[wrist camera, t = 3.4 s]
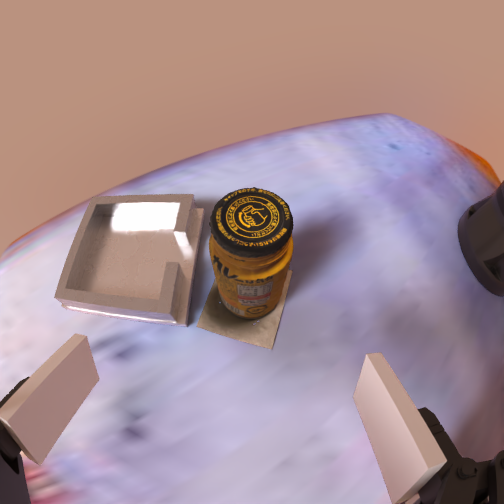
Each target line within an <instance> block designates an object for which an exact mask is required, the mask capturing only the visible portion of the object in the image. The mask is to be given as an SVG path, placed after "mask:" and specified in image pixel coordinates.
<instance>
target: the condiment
mask: <svg viewBox="0 0 504 504" xmlns="http://www.w3.org/2000/svg"><path fill="white" fill-rule="evenodd" d="M209 225H210V227H211V237H210V240H209V252H210V256H211V261H212V265H213V269H214V273H215V277H216V278H215V280H214V283H213V286H212V288H211V291H210V293H209V295H208V298H207V301H206V303H205V306H204V308H203V311H202V314H201V316H200V318H199V321H198V324H197V327H199V328H202V329H205V330H207V331H211V332H214V333H217V334H220V335H223V336H226V337H229V338H233V339H236V340H239V341H243V342H246V343H250V344H253V345H257V346H261V347H265V348H268V349H272V346H273V343H274V339H275V335H276V332H277V328H278V324H279V321H280V317H281V314H282V310H283V306H284V302H285V298H286V294H287V291H288V287H289V283H290V279H291V275H292V271H293V270H288V269H289V265H290V262H291V259H292V253H293V239H292V230H293V217H292V214H291V212H290V208H289V206H288V204H287V203H286V202H285V201H284V200H283V199H282V198H280V197H279V196H278V195H276V194H274V193H272V192H270V191H267V190H263V189H258V188H255V187H253V188H244V189H240V190H237V191H234V192H231V193H228V194H227V195H226V196H224V197H223V198H222V199H221V200H220V201H218V202H217V204H216V205H215V207H214V210H213V212H212V215H211V217H210V223H209ZM219 302H221V303H219ZM258 320H259V322H257V321H258ZM254 323H256V324H255V325H253V324H254Z"/></svg>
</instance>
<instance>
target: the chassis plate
mask: <svg viewBox="0 0 504 504" xmlns="http://www.w3.org/2000/svg"><path fill="white" fill-rule="evenodd" d="M204 215H205V213H204V208H196V203H195V199H194V195H193V194H165V195H126V196H103V197H92V199H91V201H90V203H89V205H88V208H87V210H86V212H85V214H84V217H83V219H82V221H81V223H80V226H79V228H78V231H77V233H76V235H75V238H74V241H73V243H72V246H71V248H70V251H69V254H68V256H67V259H66V262H65V265H64V268H63V271H62V274H61V277H60V280H59V283H58V287H57V290H56V293H55V297H54V298H56V299H57V300H58V301H60V302H61V303H62V307H63V308H65V309H66V310H71V311H77V312H82V313H87V314H93V315H99V316H105V317H111V318H117V319H124V320H131V321H138V322H146V323H154V324H162V325H171V326H181V327H187V325H188V317H189V310H190V302H191V295H192V288H193V281H194V275H195V268H196V262H197V256H198V249H199V244H200V238H201V232H202V226H203V221H204Z"/></svg>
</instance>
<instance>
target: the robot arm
mask: <svg viewBox="0 0 504 504" xmlns="http://www.w3.org/2000/svg"><path fill="white" fill-rule="evenodd" d="M458 237H459V242H460V246H461V249H462V252H463V254H464V257H465V259H466V261H467V263H468V265H469V267H470V269H471V270H472V272H473V273H474V275H475V276H476V278H477V279H478V280H479V281H480V283H481V284H482V285H483V286H484V287H485V288H486V289H487V290H489V291H490V292H492V293H493V294H495V295H498V296H504V181H503V182H502V184H501V185H500V186H499V188H498V189H497V190H496V191H495V192H494V193H493V194H491V195H490V196H488V197H486V198H485V199H483V200H481V201H479V202H478V203H476V204H474V205H472V206H471V207H470V208H468V209H467V211H466V212H465V213H464V214H463V216H462V217H461V218H460V221H459V224H458ZM98 381H99V376H98V373H97V370H96V367H95V363H94V360H93V357H92V353H91V350H90V346H89V343H88V339H87V336H84V335H80V334H74V335H73V336H72V337H71V338H70V339H69V340H68V341H67V342H66V343H65V344H64V345H62V346H61V347H60V348H59V349H58V350H57V351H56V352H55V353H54V354H53V355H52V356H51V357H50V358H49V359H48V360H47V361H46V362H45V363H44V364H43V365H42V366H41V367H40V368H39V369H38V370H37V371H36V372H35V373H34V374H33V375H32V376H31V377H27V378H25V379H23V380H22V381H20V382H19V383H18V384H17V385H16V386H15V387H14V389H12V390H11V391H10V392H9V394H7V395H6V396H5V397H4V398H3V399H2V401H1V402H0V504H31V502H30V498H29V493H28V489H27V484H26V479H25V473H24V467H23V460H22V457H21V455H20V454H19V453H20V452H21V450H22V451H23V452H24V454H25V455H26V456H27V457H28V458H29V459H30V460H32V461H34V462H35V463H37V464H39V465H40V466H41V464H42V463H43V461H44V460H45V458H46V456H47V455H48V453H49V452H50V450H51V449H52V447H53V446H54V444H55V443H56V441H57V439H58V438H59V436H60V435H61V433H62V432H63V430H64V429H65V428H66V426H67V425H68V423H69V422H70V420H71V419H72V417H73V416H74V414H75V413H76V411H77V410H78V409H79V407H80V406H81V404H82V403H83V401H84V400H85V399H86V397H87V396H88V394H89V393H90V392H91V390H92V389H93V387H94V386H95V385H96V383H97V382H98ZM353 399H354V402H355V404H356V407H357V409H358V412H359V414H360V417H361V419H362V422H363V424H364V427H365V430H366V432H367V435H368V437H369V440H370V443H371V445H372V448H373V451H374V453H375V456H376V459H377V462H378V464H379V467H380V470H381V473H382V475H383V478H384V481H385V484H386V487H387V490H388V493H389V496H390V499H391V502H392V504H398V503H401V502H404V501H406V500H409V499H411V498H412V497H413V496H414V495H415V494H416V493H417V492H418V494H419V496H420V498H419V499H417V500H416V501H415V502H414V503H413V504H504V450H503V451H501V452H499V453H498V454H497V455H496V457H495V458H494V459H493V460H489V461H484V462H479V463H476V462H475V461H474V460H473V459H470V458H462V457H461V456H460V454H459V453H458V451H457V449H456V448H455V446H454V444H453V443H452V441H451V439H450V438H449V436H448V435H447V433H446V431H445V432H444V428H443V427H442V425H440V422H439V420H438V419H437V417H436V416H435V414H434V413H432V412H431V411H430V410H428V409H427V408H426V407H424V408H421V409H417V408H416V406H415V405H414V403H413V402H412V400H411V398H410V397H409V395H408V394H407V392H406V390H405V389H404V387H403V386H402V384H401V382H400V381H399V379H398V378H397V376H396V375H395V373H394V372H393V370H392V369H391V367H390V366H389V364H388V362H387V361H386V359H385V358H384V356H383V355H382V353H370V354H366V357H365V360H364V364H363V367H362V370H361V374H360V377H359V380H358V383H357V386H356V389H355V392H354V395H353ZM488 496H489V501H488Z"/></svg>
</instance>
